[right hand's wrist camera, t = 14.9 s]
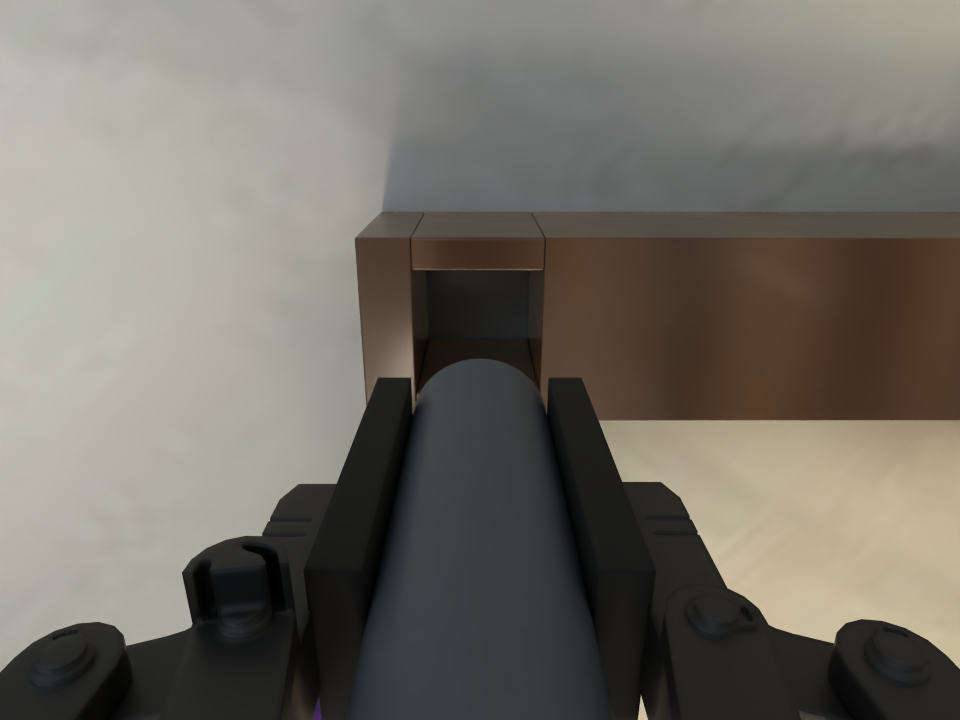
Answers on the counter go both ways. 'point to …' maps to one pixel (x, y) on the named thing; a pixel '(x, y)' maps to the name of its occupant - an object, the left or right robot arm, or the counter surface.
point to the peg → (479, 568)
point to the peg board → (689, 309)
